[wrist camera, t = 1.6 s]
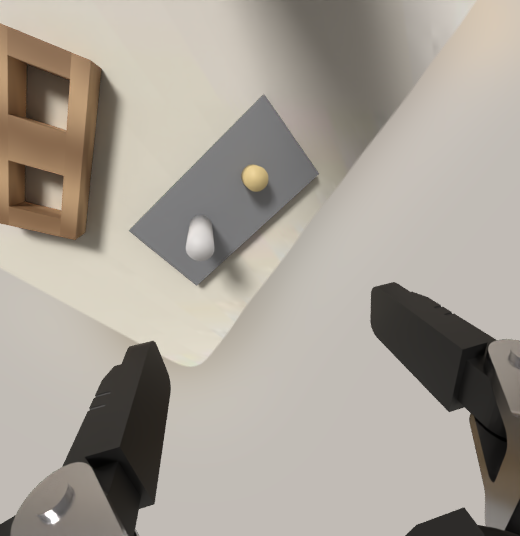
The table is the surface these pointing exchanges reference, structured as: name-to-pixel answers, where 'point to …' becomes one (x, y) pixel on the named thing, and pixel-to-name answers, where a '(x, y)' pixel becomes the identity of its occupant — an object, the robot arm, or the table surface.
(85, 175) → the holed bar
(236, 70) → the table surface
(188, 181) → the base
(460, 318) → the robot arm
